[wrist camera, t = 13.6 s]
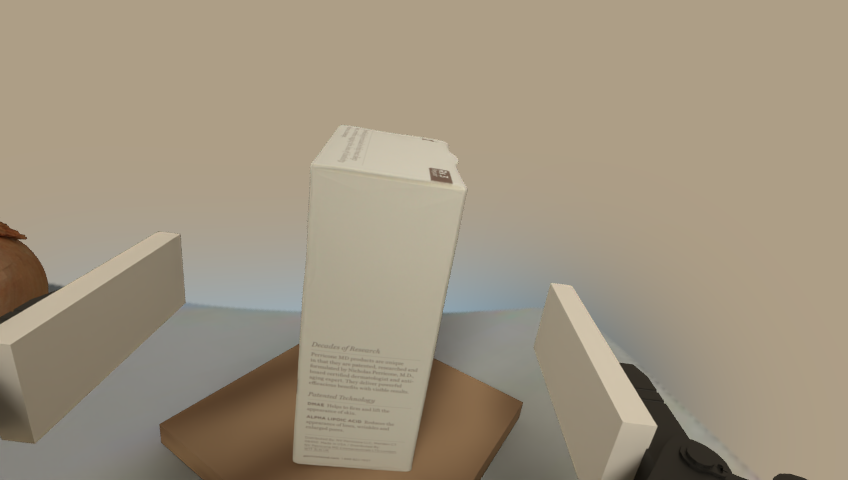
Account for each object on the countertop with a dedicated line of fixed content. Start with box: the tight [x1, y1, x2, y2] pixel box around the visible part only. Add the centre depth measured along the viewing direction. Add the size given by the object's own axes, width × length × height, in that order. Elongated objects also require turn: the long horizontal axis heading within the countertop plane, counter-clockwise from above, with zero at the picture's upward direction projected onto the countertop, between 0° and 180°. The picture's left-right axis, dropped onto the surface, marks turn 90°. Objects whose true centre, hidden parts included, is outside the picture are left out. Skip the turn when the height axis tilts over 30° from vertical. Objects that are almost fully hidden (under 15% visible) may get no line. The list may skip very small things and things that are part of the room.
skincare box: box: [293, 125, 468, 472], centre depth 22 cm, size 8×6×15 cm
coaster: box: [159, 344, 523, 480], centre depth 25 cm, size 14×14×1 cm
